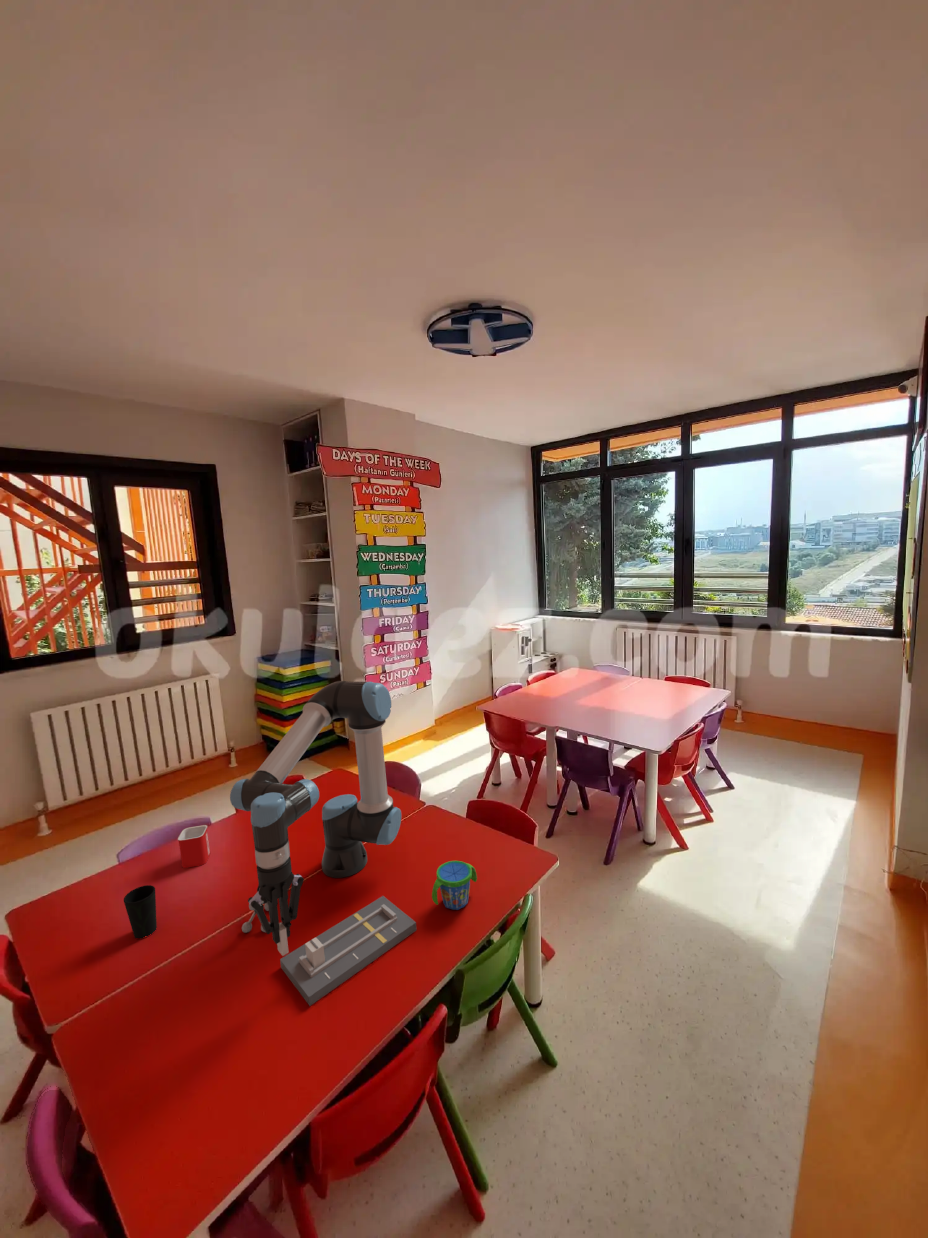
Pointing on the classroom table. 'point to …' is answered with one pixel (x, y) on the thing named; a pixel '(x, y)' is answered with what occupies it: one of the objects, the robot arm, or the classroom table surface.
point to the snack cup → (454, 884)
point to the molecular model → (247, 925)
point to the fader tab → (315, 953)
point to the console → (348, 948)
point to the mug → (194, 846)
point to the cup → (142, 910)
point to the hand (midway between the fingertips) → (283, 951)
